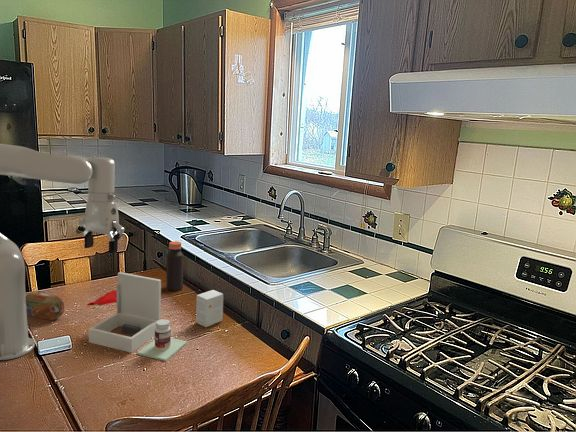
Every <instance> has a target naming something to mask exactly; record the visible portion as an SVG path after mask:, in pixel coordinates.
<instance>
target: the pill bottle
mask: <svg viewBox="0 0 576 432" xmlns="http://www.w3.org/2000/svg"><path fill="white" fill-rule="evenodd" d="M171 335H172V330H171V326H170V320H169V319H163V318H162V319H161V320H158V321H157V322H156V328H155V336H154V340H155V348H156V349H158V350H166V349H168V348H169V347H170V345H171V338H172V336H171Z"/></svg>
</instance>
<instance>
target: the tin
mask: <svg viewBox="0 0 576 432" xmlns="http://www.w3.org/2000/svg"><path fill="white" fill-rule="evenodd" d="M26 308H27V316H29V317H31V318H36V319H42V320H45V321H46V320H48V321H54V320H55V321H56V319H58V318H60V317H62V315H63V314H64V312H65V311H64V310H65V304H64V301H63V300H62V299H61V297H59V296H57V295H56V294H55V295H54V294H48V293H43V292H42V293H41V292H34V293H30V294H27V295H26Z"/></svg>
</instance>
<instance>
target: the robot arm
mask: <svg viewBox="0 0 576 432" xmlns="http://www.w3.org/2000/svg"><path fill="white" fill-rule="evenodd" d="M115 169H116V163H115V160H114V159H113V158H111V157H100V156H95V157H88V156H82V155H77V154H76V155H75V154H70V155H64V156H63V155H57V154H51V153H46V152H42V151H38V150H36V149H32V148H29V147H26V146H22V145H21V146H20V145H13V144H6V143H0V176H10V177H17V178H18V177H19V178H23V179H31V180H32V179H33V180H41V181H47V182H53V183H55V182H56V183H62V184H63V183H64V184H65V183H66V184H72V185H73V184H75V185H81V184H84V183H86V182H87V183H88V184H87V187H88V188H87V190H88V192H87V194H88V195H87V199H88V200H87V201H86V206H85V209H84V210H85V212H84V218H82V219H79V220H78V224H79V227H80V231H81V232H82V235H83V236H84V248H85V249H89V248H92V247H94V240H95V239H94V233H97V234H100V235H101V234H102V235H107V237H108V239H109V241H108V253H109V254H115V253H117V252H118V250H119V249H118V242H119V240H120V239H121V238H122V237H123V234H124V232H125V227H123V226H122V225H121V224H120V220H119V219H120V215H119V207H118V203H117V202H116V199H117V195H115V186H116V185H115V180H116V179H115V176H116V174H115V173H116V171H115ZM26 294H27V293H26V266H25V259H24V256H23V253H21V250H20V248H19V247H18V245H17V244H16V243H15V242H14V241H12V240H11V239H9V238H8V237H7V236H5V235H4V234H3V233H1V232H0V361H7V360H13V359H16V358H19V357H22V356H25V355H26V354H29V353H30V352H31V351H32V350H33V349H34V348H35V347H36V346H35V340H34V339H33V338H31V337H29V329H28V314H27V308H26V296H27V295H26Z"/></svg>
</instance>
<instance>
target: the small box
mask: <svg viewBox="0 0 576 432" xmlns="http://www.w3.org/2000/svg"><path fill="white" fill-rule="evenodd" d="M195 305H196V306H195V308H196V310H195V311H196V312H195V314H196V316H195V317H196V318H195V322H196V324H199V325H200V326H202V327H205V328H207V327H210V326H213V325H215V324H218V323H220V322H223V315H224V293H222V292H219V291H217V290H215V289H211V290H208V291H205V292H202V293H199V294H197V295H196V304H195Z"/></svg>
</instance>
